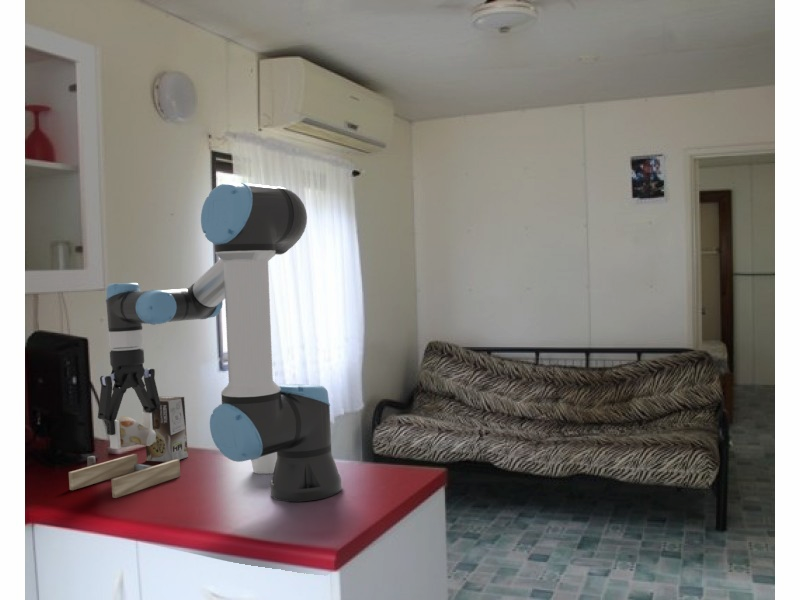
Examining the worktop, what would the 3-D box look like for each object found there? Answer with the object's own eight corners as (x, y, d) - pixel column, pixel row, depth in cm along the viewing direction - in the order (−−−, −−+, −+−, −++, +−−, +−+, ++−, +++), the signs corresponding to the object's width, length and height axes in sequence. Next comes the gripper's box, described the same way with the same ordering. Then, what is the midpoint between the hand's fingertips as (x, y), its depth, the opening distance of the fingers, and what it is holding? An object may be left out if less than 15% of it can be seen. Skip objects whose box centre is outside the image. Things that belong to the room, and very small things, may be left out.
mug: (153, 449, 169) (128, 414, 168) (122, 466, 172) (96, 432, 170) (167, 434, 176) (143, 401, 175) (137, 451, 179) (112, 418, 177)
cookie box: (189, 456, 194) (185, 396, 193) (172, 463, 188) (168, 400, 187) (162, 455, 197) (158, 395, 197) (145, 461, 192) (141, 399, 191)
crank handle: (120, 469, 185) (119, 448, 185) (127, 469, 184) (125, 448, 184) (85, 479, 177) (84, 457, 177) (92, 480, 175) (90, 458, 175)
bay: (180, 476, 174) (179, 459, 174) (116, 497, 159) (114, 479, 159) (134, 469, 183) (133, 453, 183) (69, 489, 168) (68, 472, 167)
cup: (291, 465, 179) (289, 417, 179) (278, 475, 170) (275, 424, 170) (257, 465, 181) (254, 417, 181) (242, 475, 172) (239, 425, 172)
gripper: (152, 343, 183) (157, 432, 184) (76, 353, 165) (82, 452, 166) (173, 343, 179) (178, 435, 180) (97, 354, 161) (103, 455, 162)
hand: (132, 443), depth 173 cm, fingers closed on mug, 9 cm apart
